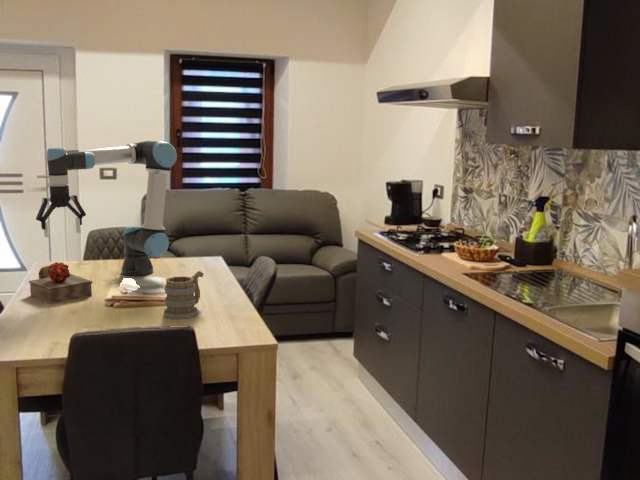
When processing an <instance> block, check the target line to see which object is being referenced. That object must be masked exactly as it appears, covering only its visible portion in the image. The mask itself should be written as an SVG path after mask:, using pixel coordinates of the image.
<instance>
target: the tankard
mask: <svg viewBox="0 0 640 480" xmlns="http://www.w3.org/2000/svg"><path fill="white" fill-rule="evenodd" d="M199 277H200V278H203V277H204V272H202V271H200V270H198V271H197V272H195V273H194V274H193V275H192V276H172V277H169V278H166V284H164V289H163V290H164V292H165V293H164V294H165V295H166V297H165V300H164V302H165V303H164V304H165V307H166V308H164V309H163V317H164V318H167V319H171V320H186V319H187V320H188V319H192V318H193V317H197V316H198V315H199V314H198V307H196V306H195V305H197V304H198V303H199V302H200V301H199V300H200V298H201V289H200V286H199Z"/></svg>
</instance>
